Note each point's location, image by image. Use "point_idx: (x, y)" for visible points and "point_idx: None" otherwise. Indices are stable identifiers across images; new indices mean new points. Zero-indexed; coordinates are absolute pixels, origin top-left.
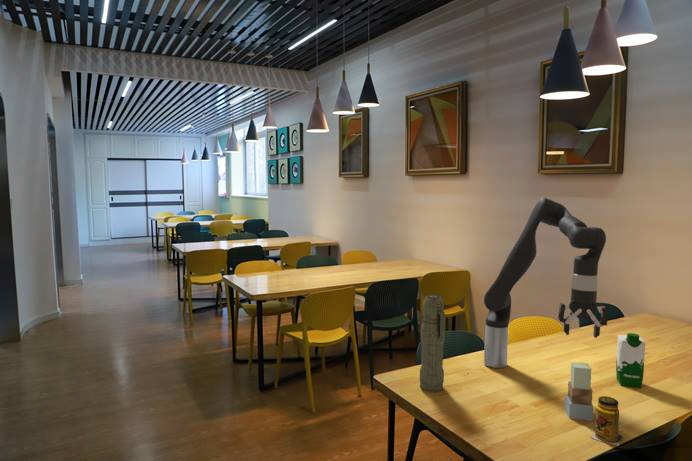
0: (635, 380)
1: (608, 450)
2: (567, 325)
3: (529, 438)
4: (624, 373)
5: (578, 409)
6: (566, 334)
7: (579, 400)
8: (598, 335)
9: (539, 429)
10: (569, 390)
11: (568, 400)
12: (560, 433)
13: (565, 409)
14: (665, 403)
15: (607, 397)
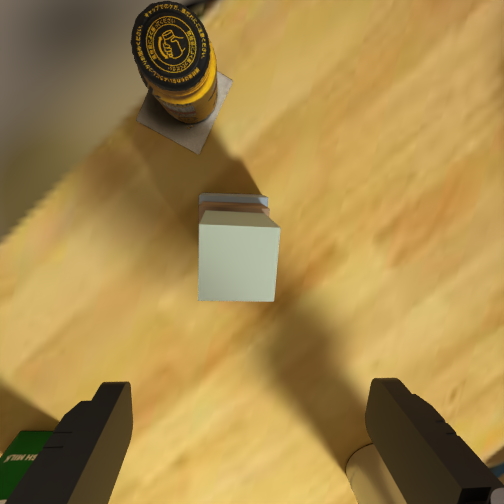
0: (24, 447)
1: (202, 12)
2: (473, 470)
3: (398, 41)
4: None
5: (241, 195)
6: (393, 383)
7: (239, 203)
8: (81, 407)
9: (357, 104)
10: None
11: None
12: (308, 92)
13: None
14: None
15: (167, 75)
